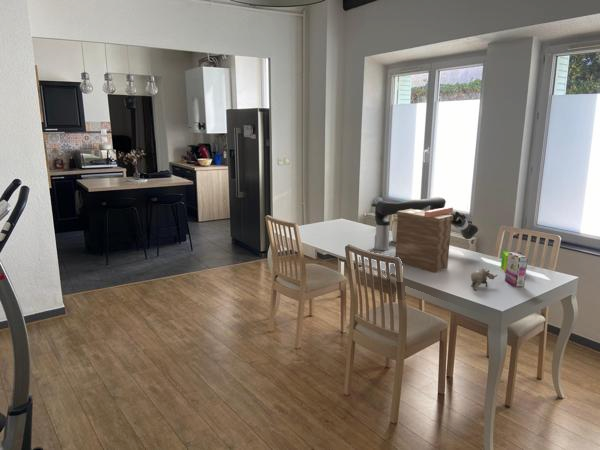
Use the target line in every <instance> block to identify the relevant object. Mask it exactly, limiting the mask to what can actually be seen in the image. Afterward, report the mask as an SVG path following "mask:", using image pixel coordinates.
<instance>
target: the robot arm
mask: <svg viewBox="0 0 600 450" xmlns="http://www.w3.org/2000/svg"><path fill="white" fill-rule="evenodd" d="M446 203H447V201H446V199H445V198H444V197H440V196H437V197H428V198H422V199H406V200H404V201H401V202H388V201H386V200H380V201H377V203H376V204H375V207H374V209H375V210H374V212H375V213H374V218H375V219H374V220H375V234H374V249H373V250H378V251H388V250H389V242H390V224H391V221H390V220H389V218H388V217H389V216H391V215H397V211H402V210H408V209H415V210H423V211H424V210H425V209H426V208H428V207H429V210H434V209H440V208H445V207H446ZM446 215H452V216H453V219H452V221H451V226H453V227H455V229H457V230H459V231H460V233H461V236H462V237H463V238H464V239H465V240H471V239H472V238H473V237H474V236H475V234H477V233H478V231H479V227H478V226H477V225H476V224H473V223H471V222H469V221H468V220H467V219H468V217H467V216H466V215H465V214H462V213H460V212H459V211H455V212H454V213H453V212H452V213H447V214H446Z"/></svg>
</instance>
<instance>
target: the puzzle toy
mask: <svg viewBox="0 0 600 450" xmlns="http://www.w3.org/2000/svg"><path fill="white" fill-rule="evenodd" d="M508 252H509V251H502V254H501V262H500V263H501V264H500V268H501V269H502V271H503V270H504V271H503V272H504V273H506V267H507V259H508ZM517 253H519V254H521V255H523V256H525V255H524V254H522V253H521V252H518V251H517Z"/></svg>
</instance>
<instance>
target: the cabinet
mask: <svg viewBox="0 0 600 450" xmlns="http://www.w3.org/2000/svg"><path fill="white" fill-rule="evenodd" d="M425 211H426V210H424V209H423V210H415V209H408V210H402V211H397V214H396V215H397V235H396V242H395V255H394V258H395V257H399V258H400V259H401V261H402V263H403V264H402V265H405V266H409V267H411V268H412V267H413V268H417V269H420V270H423V271H428V272H432V273H437V272H441V271H443V270H446V269H448V265H449V256H450V255H449V253H450V242H451V233H452V232H451V231H452V230H451V229H452V224H451V221H452V219H453V216H452V215H446V214H442V215H437V216H433V217H424V215H425Z"/></svg>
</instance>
